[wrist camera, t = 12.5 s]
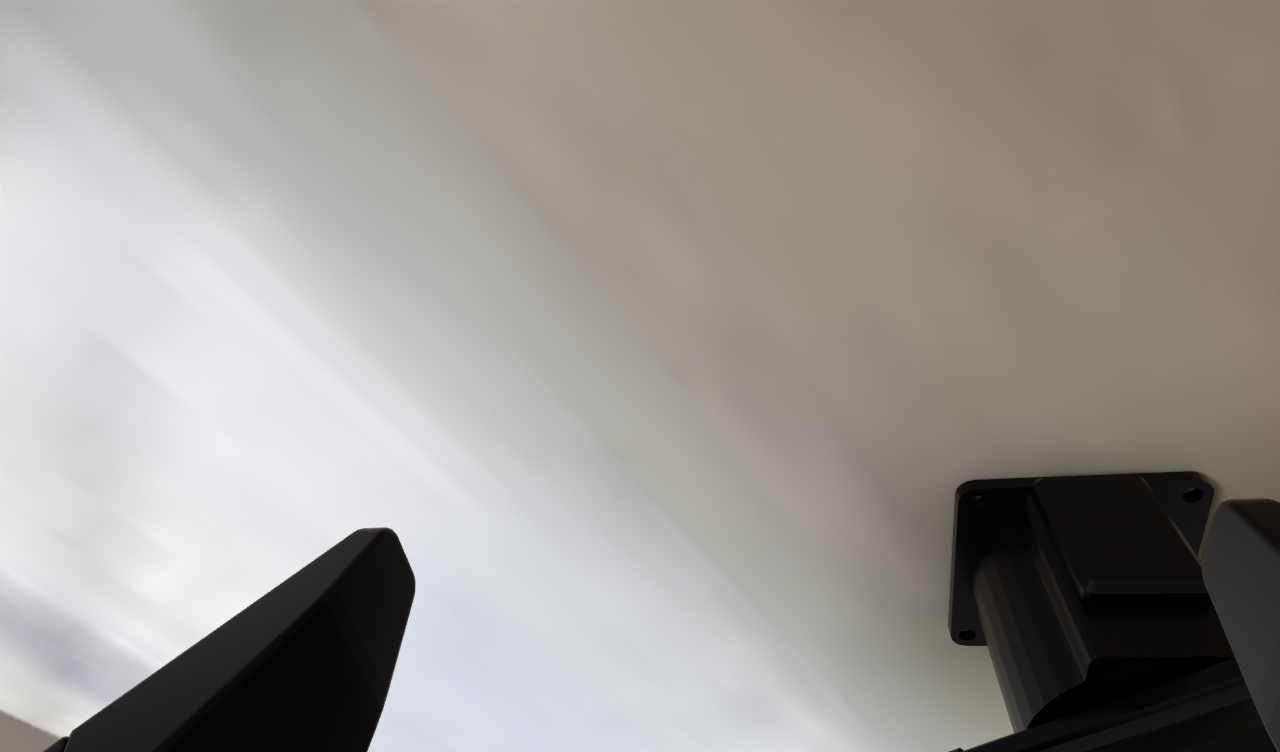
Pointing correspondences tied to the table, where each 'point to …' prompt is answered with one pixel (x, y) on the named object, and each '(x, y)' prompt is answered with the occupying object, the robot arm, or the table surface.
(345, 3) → the table surface
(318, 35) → the table surface
